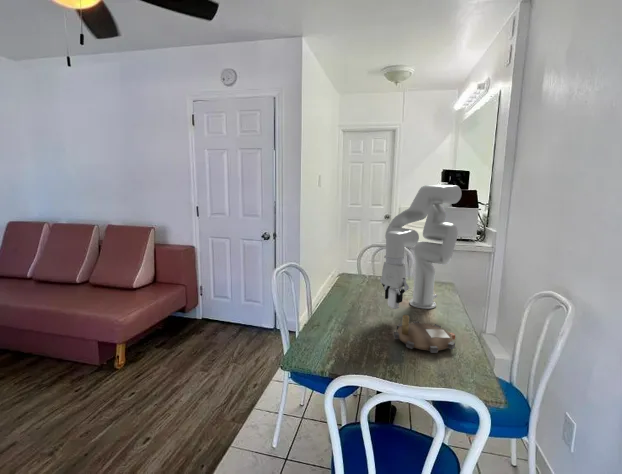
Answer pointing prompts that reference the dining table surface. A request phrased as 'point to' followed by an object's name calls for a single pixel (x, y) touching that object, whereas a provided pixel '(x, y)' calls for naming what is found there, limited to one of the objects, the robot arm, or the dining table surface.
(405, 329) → the sprocket
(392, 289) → the eye dropper bottle
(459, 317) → the dining table surface
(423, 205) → the robot arm
